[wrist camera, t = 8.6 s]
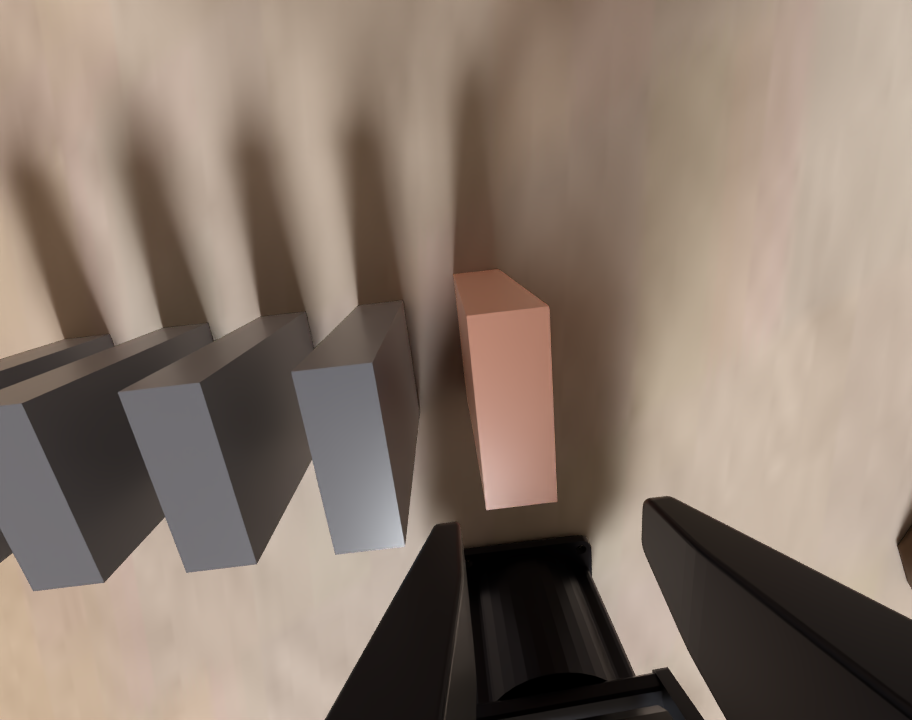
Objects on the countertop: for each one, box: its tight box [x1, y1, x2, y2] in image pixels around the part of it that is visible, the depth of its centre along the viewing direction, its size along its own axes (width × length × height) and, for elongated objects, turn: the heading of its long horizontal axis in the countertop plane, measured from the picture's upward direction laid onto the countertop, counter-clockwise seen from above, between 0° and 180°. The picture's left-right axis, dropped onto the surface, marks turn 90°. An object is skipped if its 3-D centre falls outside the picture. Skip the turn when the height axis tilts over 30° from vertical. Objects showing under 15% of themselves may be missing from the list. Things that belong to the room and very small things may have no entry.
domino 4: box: [0, 323, 214, 591], centre depth 14 cm, size 2×5×8 cm, turn 6°
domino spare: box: [453, 269, 557, 510], centre depth 14 cm, size 2×5×8 cm, turn 6°
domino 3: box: [118, 311, 314, 573], centre depth 14 cm, size 2×5×8 cm, turn 6°
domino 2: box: [291, 300, 420, 555], centre depth 14 cm, size 2×5×8 cm, turn 6°
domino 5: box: [0, 334, 114, 562], centre depth 14 cm, size 2×5×8 cm, turn 6°
